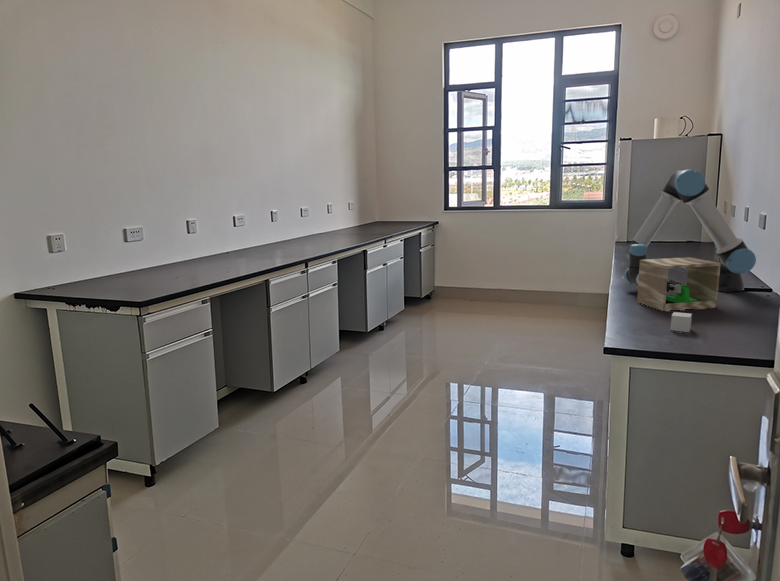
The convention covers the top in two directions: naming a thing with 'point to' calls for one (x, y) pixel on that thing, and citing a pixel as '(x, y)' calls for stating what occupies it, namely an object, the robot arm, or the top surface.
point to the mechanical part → (681, 296)
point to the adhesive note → (681, 321)
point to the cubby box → (698, 281)
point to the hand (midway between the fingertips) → (683, 290)
